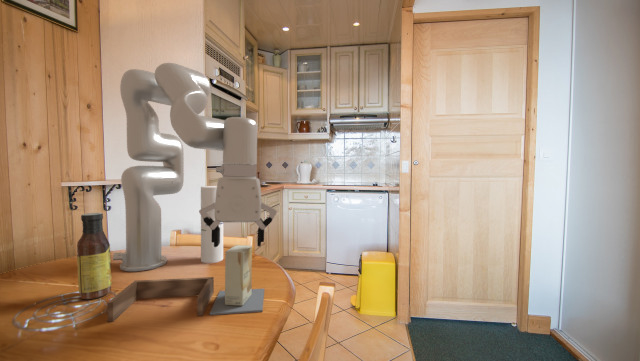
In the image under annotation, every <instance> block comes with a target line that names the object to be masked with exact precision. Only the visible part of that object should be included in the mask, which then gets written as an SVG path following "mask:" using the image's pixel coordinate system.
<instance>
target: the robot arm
mask: <svg viewBox="0 0 640 361" xmlns="http://www.w3.org/2000/svg"><path fill="white" fill-rule="evenodd" d="M119 84H120V86H119V87H120V88H119V89H120V91H119V92H120V96H121V100H122V105H123V108H124V110H125V111H124V112H125V115H126V149H127V154H128V156H129V158H130V159H131V160H133V161H138V162H151V163H152V162H153V163H162V164H163V166H162V165H159V166H158V165H136V166H129V167H127V168H125V169H124V171H123V172H122V174H121V178H120V180H121V181H120V182H121V187H122V190H123V195H124V203H125V204H124V206H125V251H124V252H114V253H113V255H112V260H113V261H122V262H121V263H120V264H119V269H120V270H122V271H125V272H143V271H149V270H153V269H157V268H160V267H162V266H164V265H165V264H167V262H168V257H167V256H163V255H162V209H161V205H160V204H159V203H158V201H157V200H156V199H155V198H154V196H164V195H173V194H177V193H179V192H180V191H181V190H182V189H183V186H184V174H185V173H184V172H185V170H184V166H185V165H184V161H185V160H184V159H185V158H184V157H185V156H184V145H183V143H184V144H185V145H186V146H188V147H190V148H193V149H198V150H199V149H200V150H213V151H218V152H219V151H221V152H222V163H221V165H220V166H216V167H215V173H219V174H221V176H222V177H218V179H217V180H218V181H217V183H216V184H217V185H216V186H217V190H216V199H215V203H213V204H211V205H209V206H206V207H204V208H202V209H201V208H200V209H199V214H200V215H199V216H200V217H201V216H202V218H203V220H204V222H205V223H206V224H207V225H208V226H209V227H210V229H211V230H212V242H214V247H217V246H218V245H219V244H220V228H219V224H220V223H221V222H223V223H255V224H256V225H257V226H258V229H257V242H256V244H257V247H261V245H262V243H265V229H266V228H267V227H268V225H269V226H270V224H271V223H272V222H273V220H274V218H275V216H276V215H277V212H278V210H277V209H276V208H274V207H272V206H270V205H268V204H266V203H264V202H262V190H261V189H262V188H261V181H260V178H258V177H257V173H258V172H257V169H258V158H257V157H258V123H257V122H256V120H254V119H252V118H249V117H243V116H231V117H227V118H226V119H221V118H216V117H210V116H205V115H199V114H201V113H202V112H203V111H204V110H205V109H206V107H207V105H208V97H209V95H210V92H211V84H210V81H209V79H208V77H207V76H206V75H205V74H204V73H202V72H201V71H198V70H195V69H192V68H189V67H186V66H184V65H180V64H178V63H174V62H164V63H161V64H159V65H158V66H157V67H156V69H155V71H154V72H152V71H148V70H144V69H137V68H135V69H134V68H133V69H128V70H126V71H125V72H124V73H123V75H122V77H121V79H120V83H119ZM149 102H152V103H157V104H161V105H166V106H170V111H169V119H170V120H169V121H170V124H171V127H172V128H173V130H174V132H175V133H176V135H174V134H171V133H170V134H169V133H164V132H163V133H161V132H160V128H159V126H160V122H159V121H160V120H159V117H158V115H157V112H156V111H155V109H154V107H153V106H152V105H151V104H150V103H149ZM182 142H183V143H182ZM213 209H215V213H214V215H215V221H214V220H213V219H212V218H211V217H209V215H208V212H209V211H211V210H213ZM262 210H263V211H265V212H267V213H269V214H268V216H267V217H266V218H265V219H262V217H261V216H262Z"/></svg>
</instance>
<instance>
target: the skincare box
mask: <svg viewBox="0 0 640 361" xmlns="http://www.w3.org/2000/svg"><path fill="white" fill-rule="evenodd" d="M224 254H225V256H224V258H225V259H224V261H225V264H224V265H225V266H224V272H225V273H224V278H225V279H224V291H225V305H240V306H242V305H244V303H245V302H246V301H247V300H248V299H249V297H250V296H251V294H252V289H253V288H252V287H253V285H252V284H253V283H252V281H253V280H252V279H253V278H252V274H253V273H252V272H253V269H252V268H253V246H252V245H244V244H243V245H242V244H236V245H234V246H232V247H230V248H229V249H227V250H225V253H224Z"/></svg>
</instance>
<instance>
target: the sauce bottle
mask: <svg viewBox="0 0 640 361" xmlns="http://www.w3.org/2000/svg"><path fill="white" fill-rule="evenodd" d="M103 219H104V214H103V212H89V213H83V214H81V216H80V220H81V222H82V235H81V237H80V238H79V239H78V241H77V244H76V249H77V250H76V251H77V255H76V261H77V262H76V263H77V282H78V283H77V284H78V293H79V297H80V299H82V300H94V299H95V300H96V299H99V298H101V297H104V296H106V295H109V293H111V291H112V284H113V281H112V264H111V261H112V260H111V244H110V242H109V240H108V238H107V236H106V234H105V232H104V228H103Z"/></svg>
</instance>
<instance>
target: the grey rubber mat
mask: <svg viewBox="0 0 640 361" xmlns="http://www.w3.org/2000/svg"><path fill="white" fill-rule="evenodd" d="M264 299H265V288H252V294H251V296H250V297H249V299H248V300H247V301H246V302H245V303H244V305H242V306H240V305H225V290H219V292H218V294H217V297H216V298H215V301H214V302H213V305H212V307H211V309H210V311H209V316H218V315H232V314H233V315H235V314H247V313H248V314H249V313H251V314H252V313H261V312H262V313H263V311H264Z"/></svg>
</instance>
